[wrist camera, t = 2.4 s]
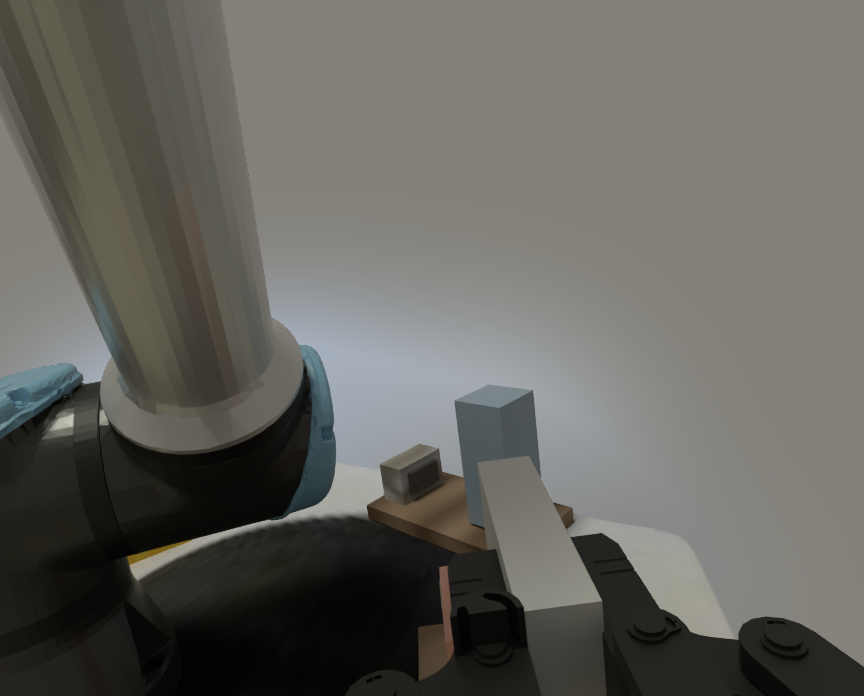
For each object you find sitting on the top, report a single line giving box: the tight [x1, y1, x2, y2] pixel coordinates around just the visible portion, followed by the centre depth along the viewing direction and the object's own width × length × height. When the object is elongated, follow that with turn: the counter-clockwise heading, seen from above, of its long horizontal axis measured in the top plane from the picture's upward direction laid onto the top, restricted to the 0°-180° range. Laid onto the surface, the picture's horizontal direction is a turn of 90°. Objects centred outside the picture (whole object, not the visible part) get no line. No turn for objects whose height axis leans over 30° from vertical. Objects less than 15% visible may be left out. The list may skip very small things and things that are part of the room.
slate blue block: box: [455, 385, 541, 528], centre depth 53 cm, size 5×5×12 cm
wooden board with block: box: [367, 444, 573, 554], centre depth 58 cm, size 18×10×6 cm, turn 47°
